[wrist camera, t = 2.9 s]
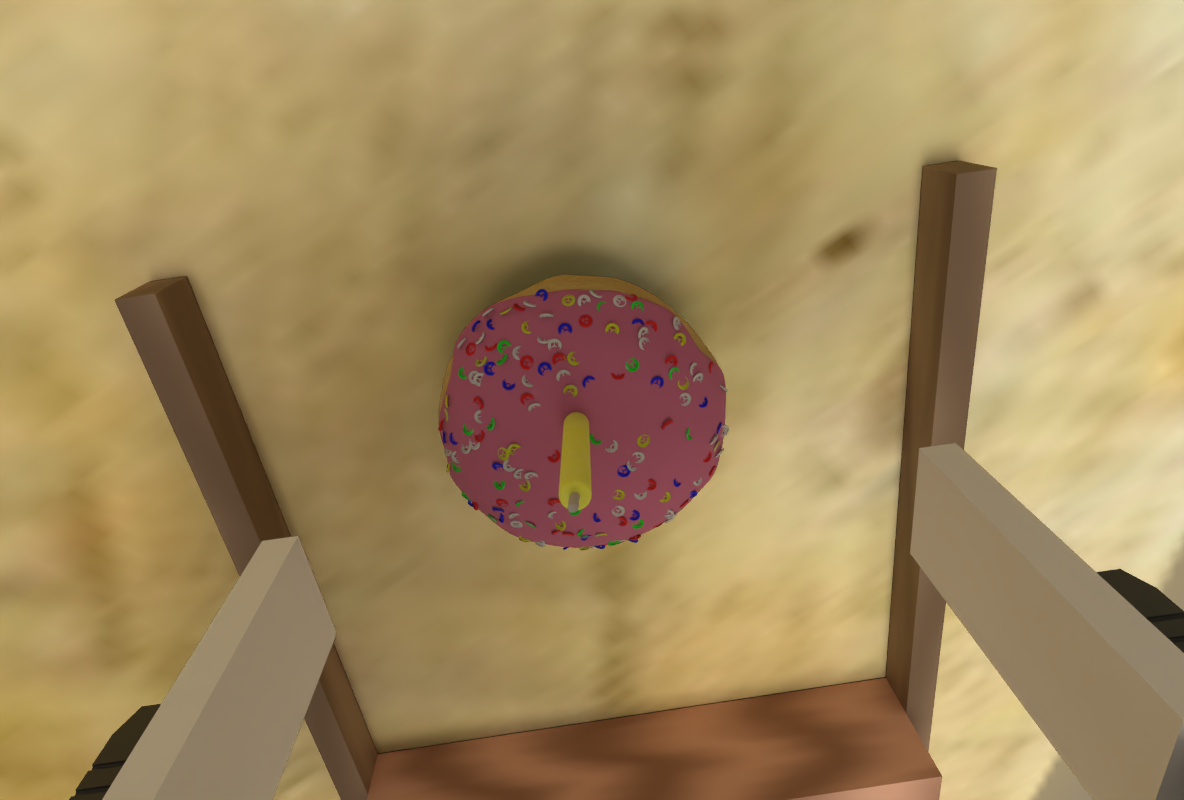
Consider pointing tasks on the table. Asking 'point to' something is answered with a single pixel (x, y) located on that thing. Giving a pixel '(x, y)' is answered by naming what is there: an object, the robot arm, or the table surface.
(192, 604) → the table surface
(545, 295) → the cupcake
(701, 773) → the brown wooden open frame
